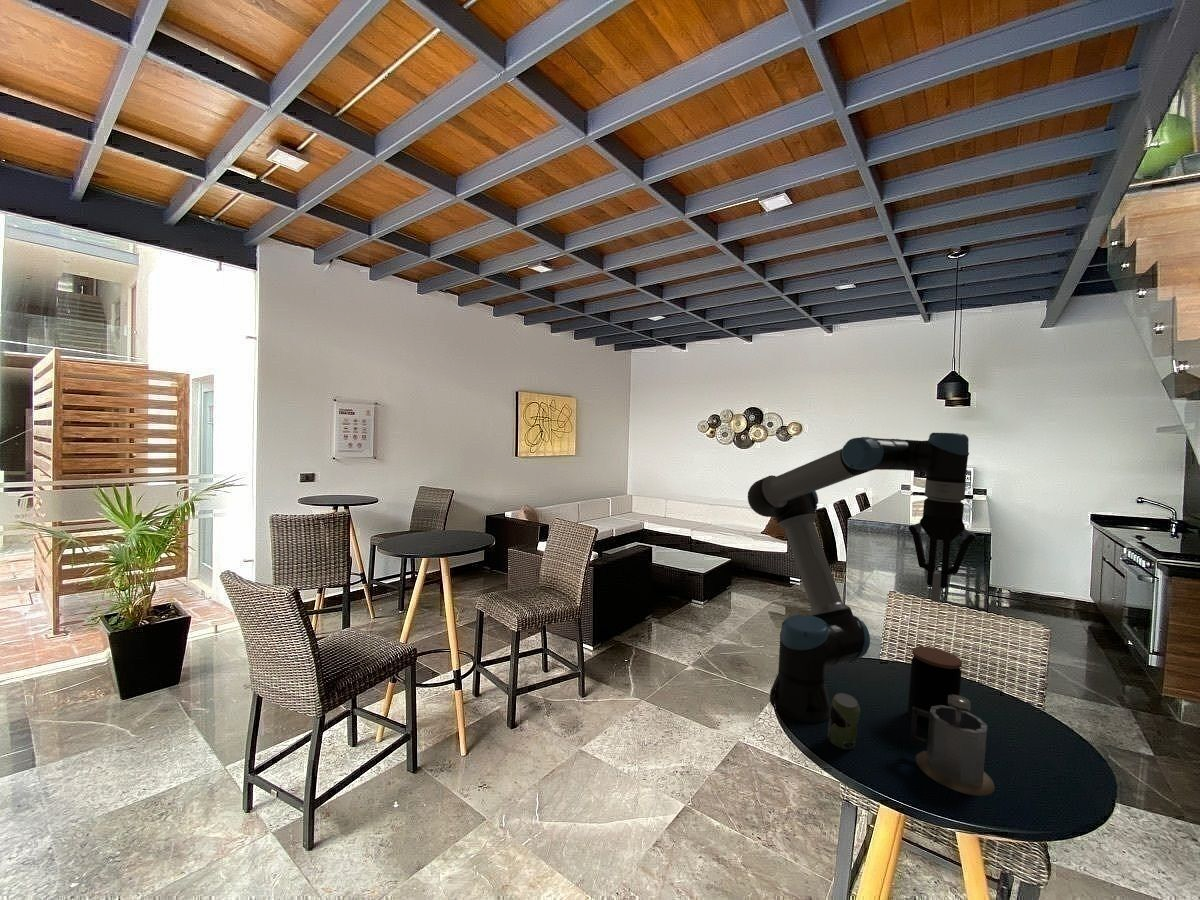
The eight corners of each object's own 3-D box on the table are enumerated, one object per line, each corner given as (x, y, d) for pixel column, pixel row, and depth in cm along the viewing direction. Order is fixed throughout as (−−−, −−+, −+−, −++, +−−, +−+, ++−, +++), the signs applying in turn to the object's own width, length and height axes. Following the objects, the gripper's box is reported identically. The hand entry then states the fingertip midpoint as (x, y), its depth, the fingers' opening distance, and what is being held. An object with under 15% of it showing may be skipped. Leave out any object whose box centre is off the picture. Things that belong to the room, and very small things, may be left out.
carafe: (905, 764, 108) (909, 712, 107) (912, 743, 116) (915, 694, 115) (981, 795, 99) (986, 738, 99) (983, 771, 107) (987, 718, 106)
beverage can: (847, 736, 118) (850, 688, 118) (863, 757, 111) (866, 705, 110) (821, 735, 118) (824, 687, 118) (835, 755, 111) (839, 704, 110)
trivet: (911, 774, 106) (911, 772, 106) (920, 744, 116) (920, 742, 116) (993, 809, 97) (994, 806, 97) (995, 773, 107) (995, 770, 107)
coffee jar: (965, 739, 119) (971, 668, 119) (917, 732, 121) (923, 662, 121) (944, 715, 130) (949, 649, 129) (900, 708, 132) (905, 644, 131)
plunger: (935, 757, 106) (939, 699, 105) (938, 743, 111) (942, 688, 110) (973, 771, 102) (977, 711, 101) (974, 756, 107) (979, 699, 106)
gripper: (908, 497, 113) (900, 596, 114) (978, 505, 104) (969, 612, 105) (913, 495, 119) (905, 589, 120) (980, 502, 110) (971, 604, 111)
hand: (935, 600), depth 112 cm, fingers closed
